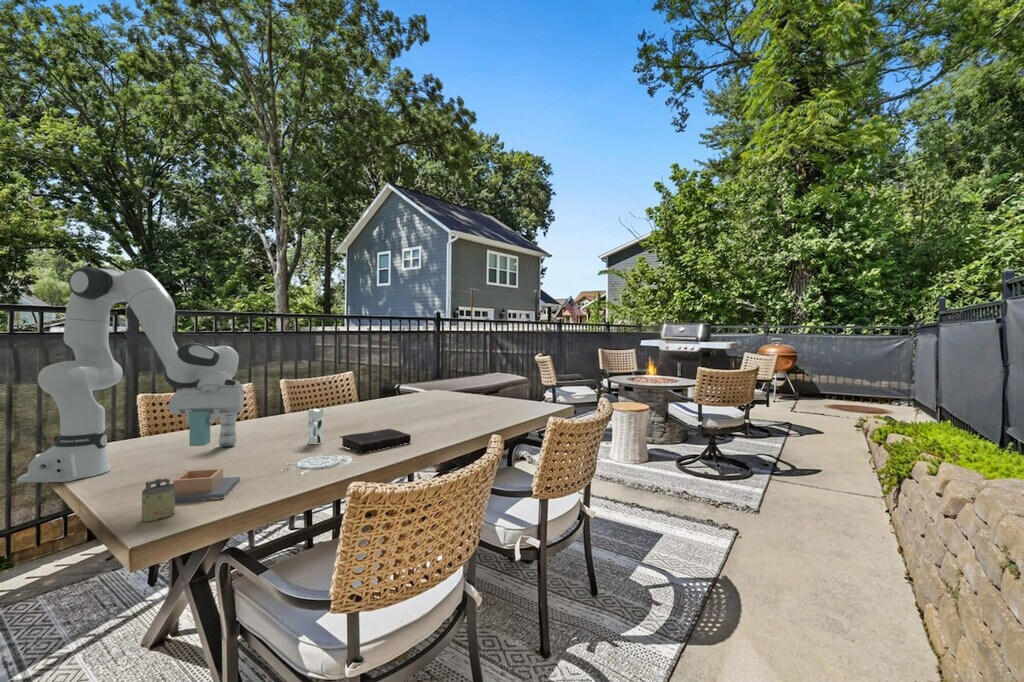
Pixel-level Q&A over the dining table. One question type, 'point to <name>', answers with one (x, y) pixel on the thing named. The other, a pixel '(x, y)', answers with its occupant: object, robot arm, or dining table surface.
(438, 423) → the dining table surface
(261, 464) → the dining table surface
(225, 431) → the plastic bottle
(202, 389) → the robot arm
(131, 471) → the dining table surface
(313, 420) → the beer glass
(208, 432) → the peg
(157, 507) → the green boxy piece
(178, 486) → the holder
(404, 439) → the diary
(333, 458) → the pendant
